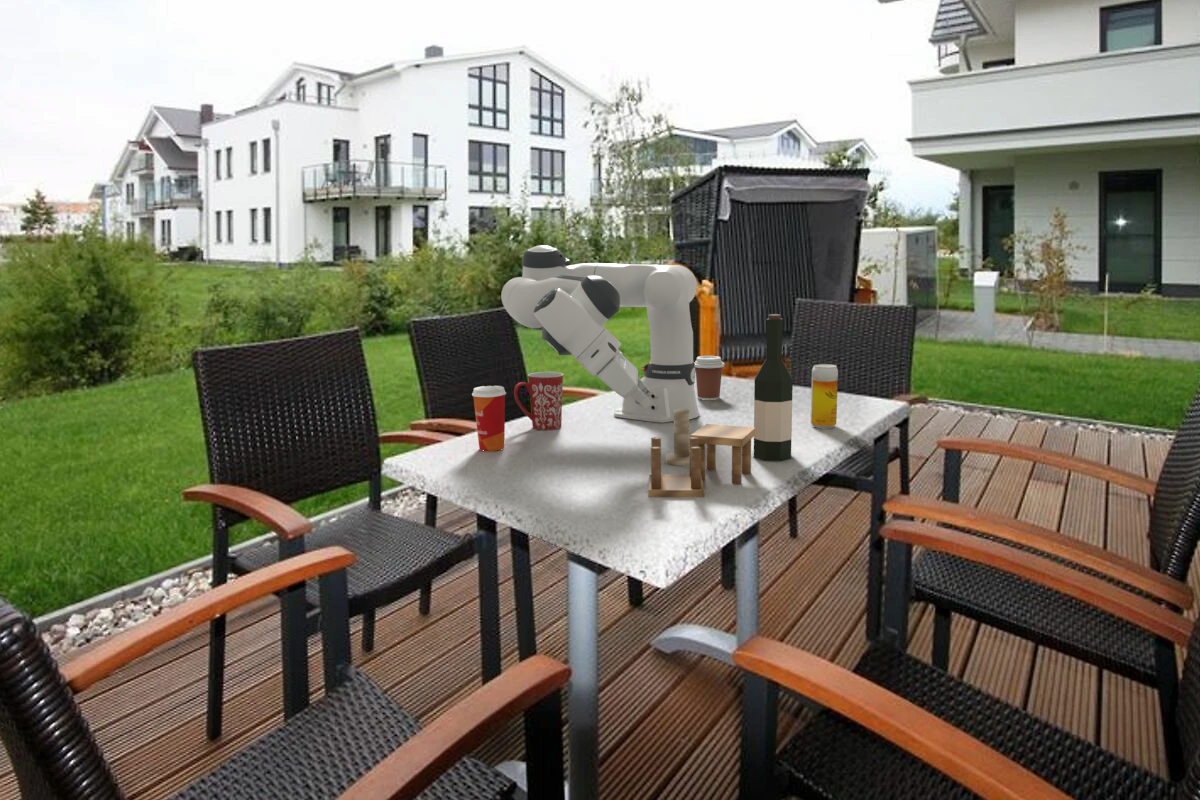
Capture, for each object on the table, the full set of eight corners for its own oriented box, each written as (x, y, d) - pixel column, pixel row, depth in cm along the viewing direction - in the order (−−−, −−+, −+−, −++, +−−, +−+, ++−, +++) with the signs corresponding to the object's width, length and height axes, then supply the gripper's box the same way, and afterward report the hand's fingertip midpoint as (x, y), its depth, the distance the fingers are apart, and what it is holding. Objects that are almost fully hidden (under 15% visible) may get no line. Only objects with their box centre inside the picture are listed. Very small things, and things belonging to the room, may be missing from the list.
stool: (691, 480, 156) (690, 434, 154) (706, 466, 165) (706, 423, 163) (741, 485, 152) (742, 439, 150) (754, 471, 161) (755, 427, 159)
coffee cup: (689, 400, 233) (689, 359, 231) (697, 394, 242) (697, 354, 239) (720, 402, 230) (720, 360, 228) (727, 396, 238) (727, 355, 236)
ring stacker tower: (661, 464, 168) (660, 412, 165) (672, 456, 173) (671, 406, 171) (691, 467, 165) (691, 414, 163) (701, 459, 171) (701, 408, 169)
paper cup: (475, 445, 187) (472, 385, 185) (509, 443, 188) (506, 384, 185) (473, 453, 180) (470, 392, 177) (508, 452, 180) (505, 390, 178)
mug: (561, 421, 210) (559, 370, 207) (568, 429, 201) (567, 375, 199) (512, 425, 207) (510, 373, 204) (518, 433, 198) (516, 379, 195)
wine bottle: (761, 449, 178) (763, 312, 172) (798, 454, 173) (801, 313, 167) (745, 458, 171) (747, 316, 165) (783, 463, 166) (786, 317, 160)
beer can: (837, 429, 194) (839, 367, 191) (811, 429, 195) (812, 367, 192) (835, 423, 200) (837, 363, 197) (809, 423, 201) (811, 363, 198)
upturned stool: (648, 498, 147) (647, 450, 145) (649, 482, 156) (648, 436, 155) (704, 498, 146) (704, 449, 144) (701, 482, 156) (701, 436, 154)
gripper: (592, 356, 175) (638, 400, 177) (586, 372, 155) (637, 422, 157) (613, 336, 174) (658, 380, 176) (609, 349, 154) (660, 399, 156)
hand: (648, 400), depth 166 cm, fingers open, 8 cm apart
